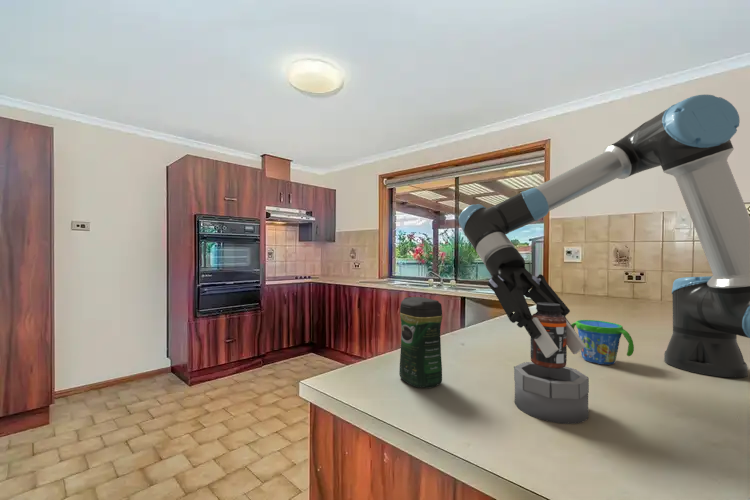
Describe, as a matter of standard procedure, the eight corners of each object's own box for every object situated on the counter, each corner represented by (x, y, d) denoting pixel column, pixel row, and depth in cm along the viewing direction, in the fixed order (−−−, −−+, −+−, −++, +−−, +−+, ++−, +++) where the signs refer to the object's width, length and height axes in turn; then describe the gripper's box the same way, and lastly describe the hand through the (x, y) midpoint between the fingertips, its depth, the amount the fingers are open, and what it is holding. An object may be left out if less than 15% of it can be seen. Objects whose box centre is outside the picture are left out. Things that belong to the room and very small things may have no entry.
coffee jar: (448, 385, 72) (449, 299, 72) (418, 392, 68) (418, 301, 68) (422, 371, 80) (422, 294, 81) (393, 376, 77) (394, 295, 77)
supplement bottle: (571, 371, 58) (571, 306, 59) (535, 368, 60) (535, 305, 60) (560, 360, 64) (560, 301, 64) (527, 358, 65) (527, 300, 66)
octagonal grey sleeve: (566, 395, 67) (566, 362, 67) (603, 425, 55) (603, 385, 55) (505, 393, 68) (506, 361, 68) (529, 422, 56) (529, 383, 56)
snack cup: (643, 367, 85) (643, 327, 85) (616, 373, 81) (616, 330, 81) (583, 351, 99) (583, 317, 99) (558, 355, 95) (558, 319, 95)
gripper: (523, 269, 80) (589, 357, 64) (457, 269, 73) (512, 368, 58) (542, 246, 75) (618, 336, 60) (473, 244, 68) (538, 345, 53)
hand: (566, 351), depth 59 cm, fingers closed on supplement bottle, 6 cm apart
